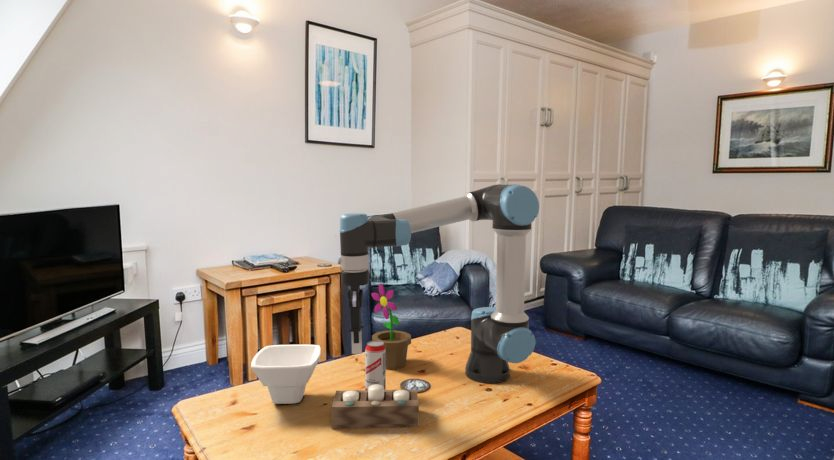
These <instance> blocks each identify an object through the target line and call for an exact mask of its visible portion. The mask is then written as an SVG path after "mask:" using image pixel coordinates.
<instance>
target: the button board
mask: <svg viewBox="0 0 834 460" xmlns="http://www.w3.org/2000/svg"><path fill="white" fill-rule="evenodd" d="M397 390H398V389H386V390H384V401H368V390H365V389H363V390H362V389H361V390H359V389H358V390H352V389H351V390H335V393H334V397H333V400H332V401H333V402H332V405H331V429H332V430H334V429H335V430H337V429H340V430H341V429H342V430H343V429H383V428H384V429H389V428H390V429H392V428H396V429H397V428H402V429H403V428H419V426H420V425H419V424H420V421H419V417H420V416H419V414H420V413H419V412H420V411H419V410H420V408H419V407H420V405H419V397H418V396H419V395H418V390H417V389H405V390H406V391H408V392H409V400H394V392H395V391H397ZM346 391H357V392H358V393H359V401H343V393H344V392H346Z"/></svg>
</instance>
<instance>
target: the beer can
mask: <svg viewBox="0 0 834 460" xmlns="http://www.w3.org/2000/svg"><path fill="white" fill-rule="evenodd" d="M364 351H365V352H364V356H365V360H364V361H365V363H364V366H365V367H364V370H365V371H364V372H365V373H364V377H365V379H364V380H365V384H364V385H365V386H364V387H365V389H364V390H368V387H369V386H371V385H374V384H379V385H383V386H384V390H387V387H386V386H387V385H386V382H387V381H386V374H387V372H386V371H387V369H386V349H385V346H384V343H383V342H382V341H376V340H375V341H372V340H370V341H368V342H367V343H366V346H365V349H364Z"/></svg>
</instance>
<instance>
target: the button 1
mask: <svg viewBox="0 0 834 460" xmlns="http://www.w3.org/2000/svg"><path fill="white" fill-rule="evenodd" d="M345 391H346V392H344V393H343V401H359V393H358V392H357V391H347V390H345Z"/></svg>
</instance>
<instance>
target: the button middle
mask: <svg viewBox="0 0 834 460" xmlns="http://www.w3.org/2000/svg"><path fill="white" fill-rule="evenodd" d="M368 401H384V386H383V385H379V384H374V385H371V386H369V387H368Z"/></svg>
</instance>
